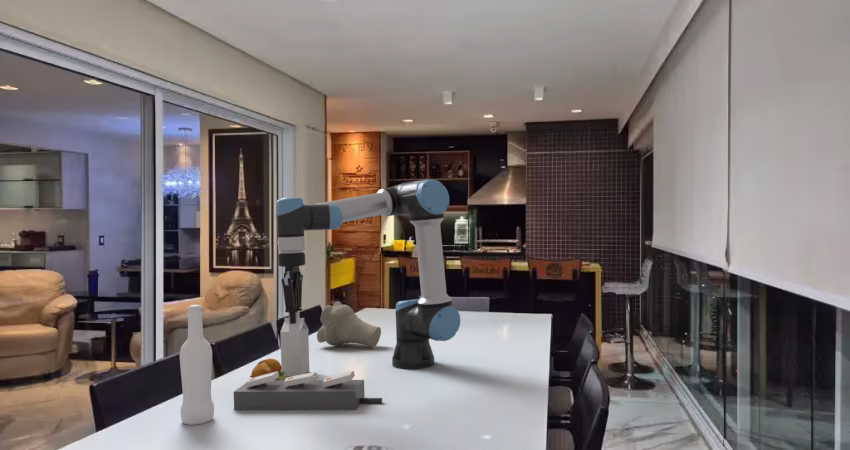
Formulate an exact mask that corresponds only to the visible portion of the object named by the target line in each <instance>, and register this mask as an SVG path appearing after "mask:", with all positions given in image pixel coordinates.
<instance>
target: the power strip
mask: <svg viewBox="0 0 850 450" xmlns="http://www.w3.org/2000/svg"><path fill="white" fill-rule="evenodd" d="M285 380H286V379H285ZM285 380H274V381H271V382H267V383H263V384H259V385H255V386H252V387H248V388H247V387H246V384H245V383H244V384H243V385H241V386H240V387H238V388H237V389H235V390H234V391H233V411H273V410H274V411H286V410H287V411H305V410H306V411H317V410H318V411H320V410H321V411H323V410H324V411H337V410H339V411H345V410H346V411H347V410H348V411H349V410H350V411H354V410H356V411H357V410H358V408H359V406H360V405H361V404H383V397H365V379H352V380H351V381H347V382H343V383H339V384H335V385H331V386H328V387H324V386H323V383H322V382H323V381H324V380H325V379H314V380H313V381H312V382H307V383H302V384H297V385H291V386H286V387H285V386H284V381H285Z"/></svg>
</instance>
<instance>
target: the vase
mask: <svg viewBox="0 0 850 450" xmlns="http://www.w3.org/2000/svg"><path fill="white" fill-rule="evenodd" d="M320 315H321V316H320V318H319V319H320V323H321V324H322V325H321V327H320V328H319V329H318V330H317V332H316V334H317V335H316V340H317V342H319V343H327V344H328V345H330V346H332V347H333V346H334V347H336V346H337V347H338V346H343V345H345V344H358V345H363V346H367V347H369V348H371V349H375V348H376V346H377V345H378V343H379V341H380V339H381V336H382V328H381V327H380V326H375V325H372V324H370V323H368V322H366V321H364V320H362V319H361V318H360V317H359V316H358V315H357V314H356V312H355V311H354V309H353V308H352V307H351V306H349V305H347V304H343V303H342V302H341V301H338V300H337V301H335V302H334V303H333V305H330V304H327V305H326V306H325V307H324V309H323V311H322V312H321V314H320Z"/></svg>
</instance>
